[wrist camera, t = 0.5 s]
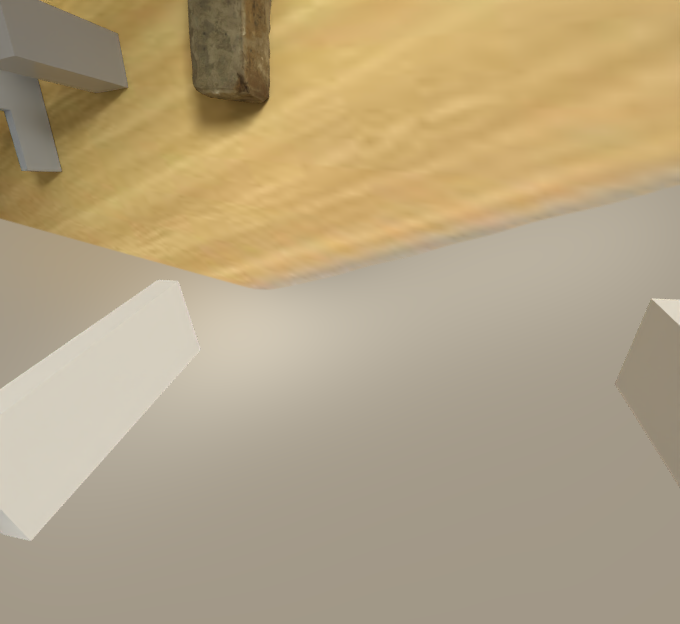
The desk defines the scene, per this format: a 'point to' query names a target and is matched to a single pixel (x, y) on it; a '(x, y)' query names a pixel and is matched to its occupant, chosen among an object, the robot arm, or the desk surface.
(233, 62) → the stone block
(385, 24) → the desk surface
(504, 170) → the desk surface
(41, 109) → the trapdoor frame
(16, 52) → the gray pillar
